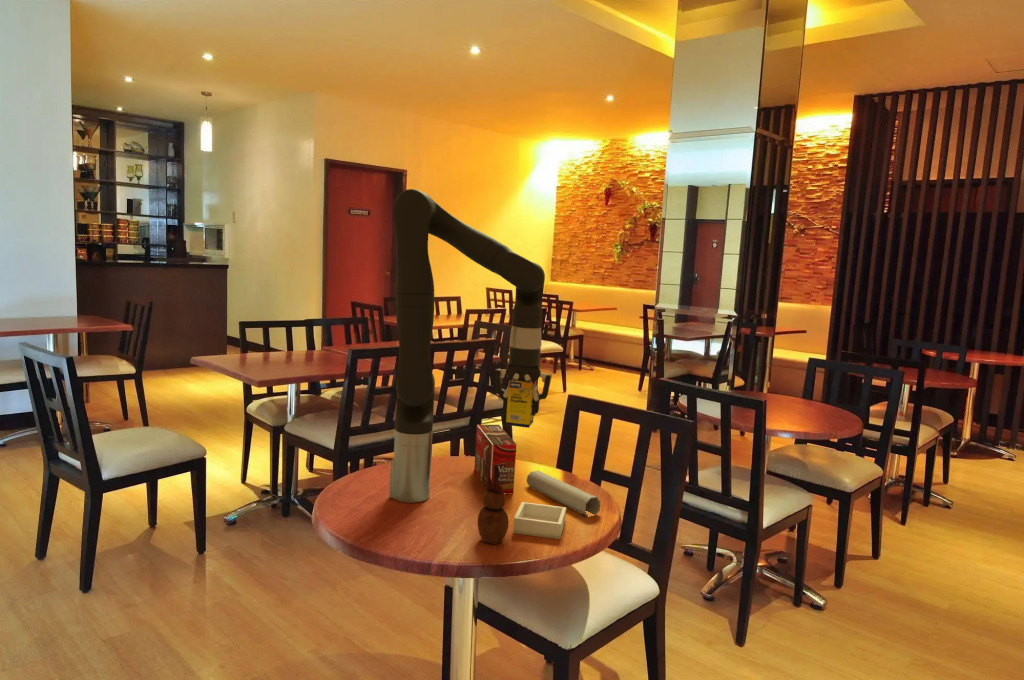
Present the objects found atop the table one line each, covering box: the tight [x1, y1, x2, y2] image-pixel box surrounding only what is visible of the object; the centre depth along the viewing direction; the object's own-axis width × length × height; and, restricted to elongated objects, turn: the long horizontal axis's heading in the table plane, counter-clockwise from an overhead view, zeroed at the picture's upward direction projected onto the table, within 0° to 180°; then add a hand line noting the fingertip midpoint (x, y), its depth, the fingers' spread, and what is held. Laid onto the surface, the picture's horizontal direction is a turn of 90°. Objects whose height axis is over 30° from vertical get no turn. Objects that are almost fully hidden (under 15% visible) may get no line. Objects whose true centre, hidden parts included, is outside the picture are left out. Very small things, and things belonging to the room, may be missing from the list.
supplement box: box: [505, 379, 537, 429], centre depth 169 cm, size 6×6×11 cm
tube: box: [526, 470, 601, 518], centre depth 178 cm, size 5×5×25 cm
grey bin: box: [512, 501, 567, 540], centre depth 159 cm, size 11×11×4 cm
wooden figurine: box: [477, 472, 509, 545], centre depth 149 cm, size 7×6×15 cm
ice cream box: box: [473, 424, 517, 494], centre depth 188 cm, size 20×6×13 cm, turn 14°
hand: (520, 413), depth 169 cm, fingers closed on supplement box, 6 cm apart
